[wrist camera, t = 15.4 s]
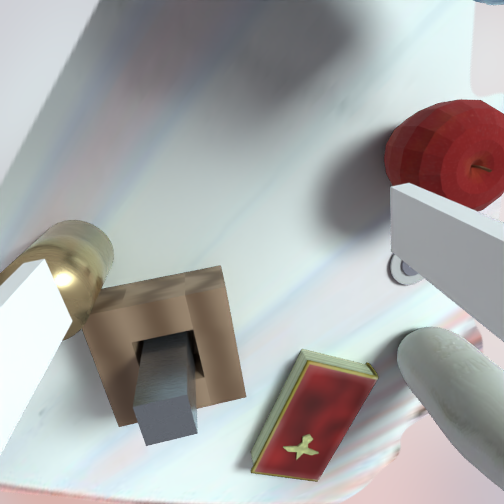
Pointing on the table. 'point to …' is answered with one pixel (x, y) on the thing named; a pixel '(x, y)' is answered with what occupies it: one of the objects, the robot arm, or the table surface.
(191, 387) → the square bit
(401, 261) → the bracket
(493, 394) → the grey rounded tall shape
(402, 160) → the apple
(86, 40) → the table surface
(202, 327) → the socket block
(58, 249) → the round bit
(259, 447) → the hardcover book
